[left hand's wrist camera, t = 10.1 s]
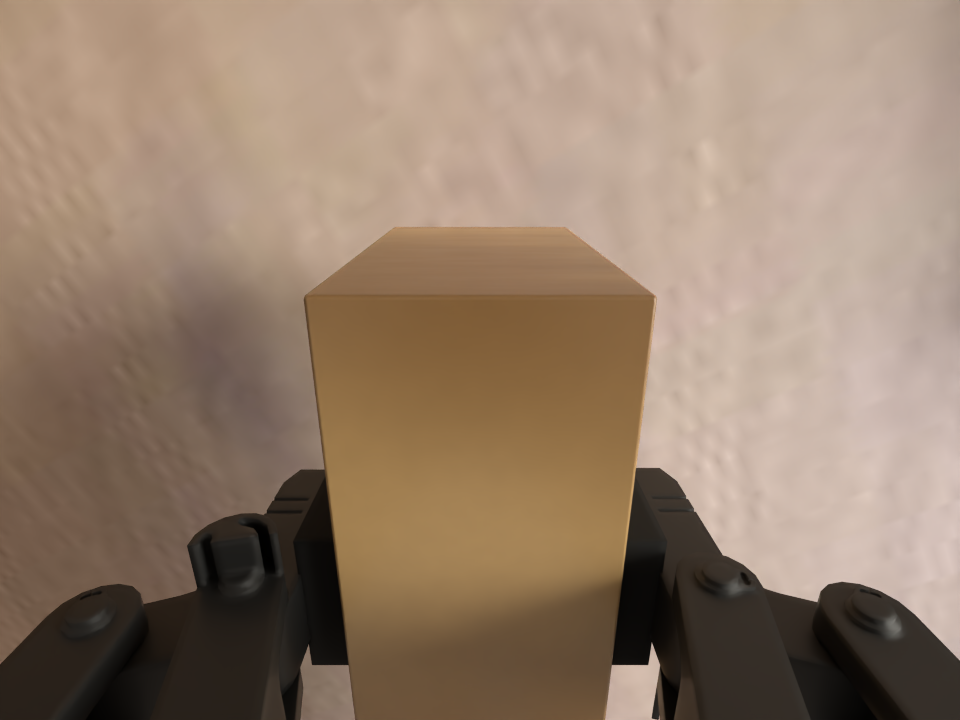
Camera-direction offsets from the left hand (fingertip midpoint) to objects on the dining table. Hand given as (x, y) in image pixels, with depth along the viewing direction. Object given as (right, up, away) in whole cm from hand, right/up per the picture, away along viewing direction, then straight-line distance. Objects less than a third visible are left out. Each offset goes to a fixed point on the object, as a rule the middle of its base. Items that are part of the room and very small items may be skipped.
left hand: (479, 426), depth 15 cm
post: (0, -20, +8) cm, 21 cm away
